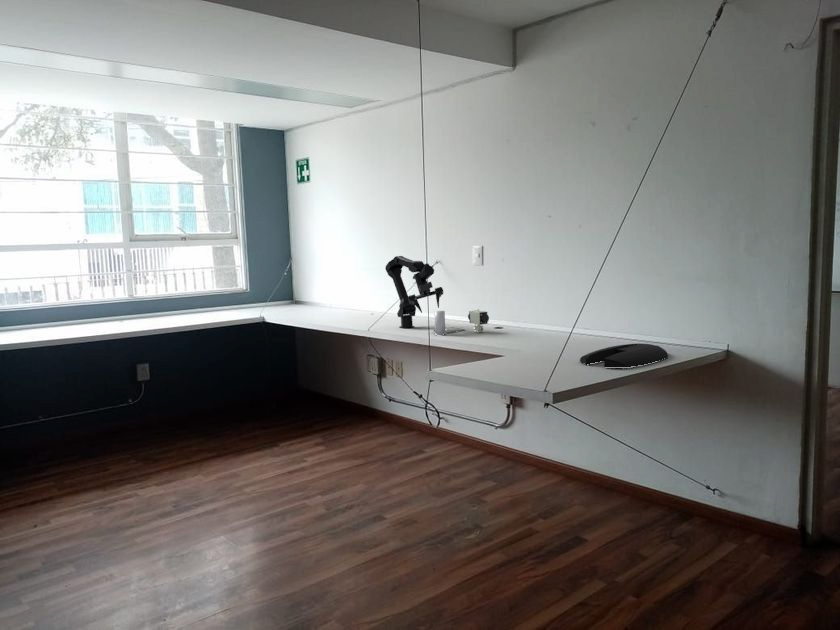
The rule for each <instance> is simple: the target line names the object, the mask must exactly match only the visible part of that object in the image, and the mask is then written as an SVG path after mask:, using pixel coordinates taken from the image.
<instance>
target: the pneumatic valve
mask: <svg viewBox="0 0 840 630" xmlns="http://www.w3.org/2000/svg"><path fill="white" fill-rule="evenodd" d="M467 318H468V321H469V324H474V326H473V331H474V333H476V332H480V333H484V325H488V322H489V320H490V316H489V315H488V311H485V310H480V309H479V308H477V310H476V309H475V310H469V312H468V316H467Z"/></svg>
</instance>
